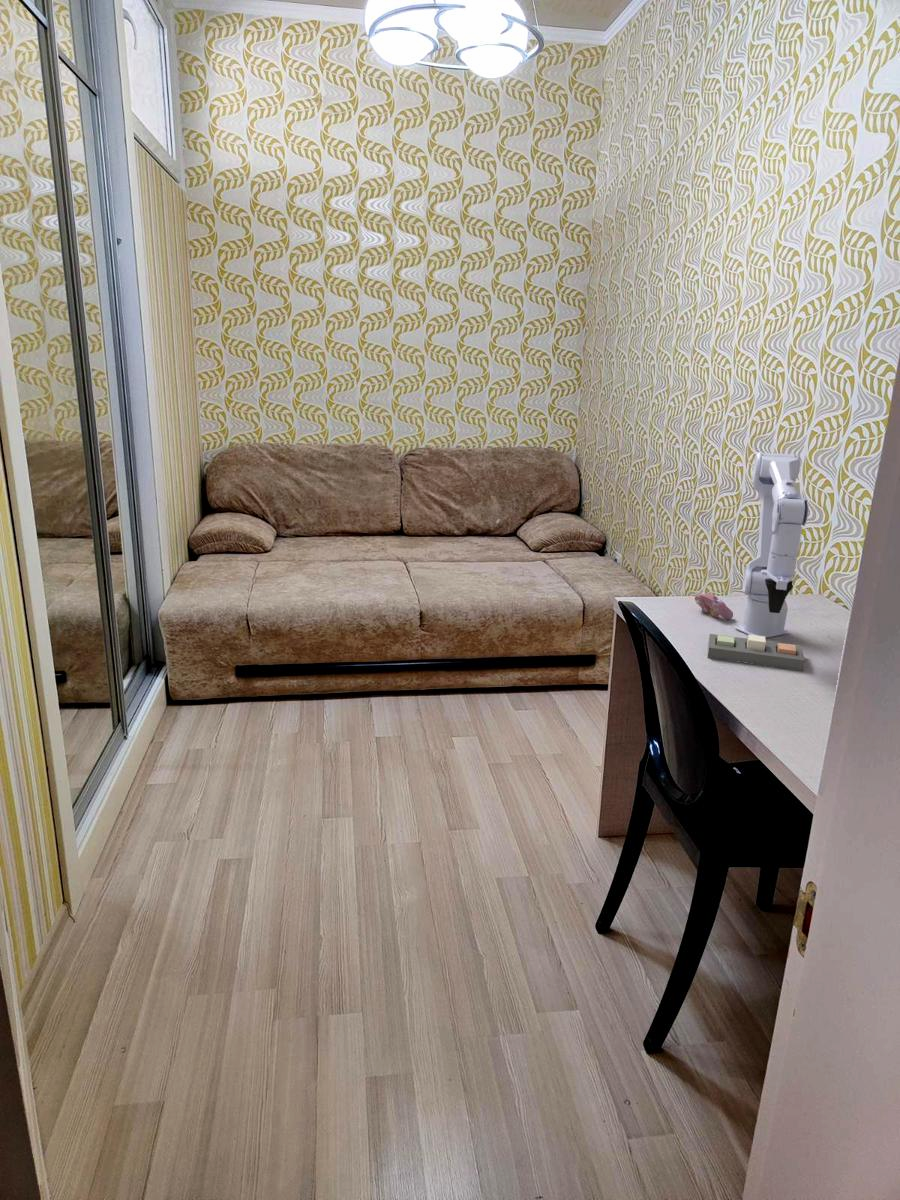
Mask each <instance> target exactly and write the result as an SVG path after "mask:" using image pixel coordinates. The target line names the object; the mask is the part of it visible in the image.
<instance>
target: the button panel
mask: <svg viewBox="0 0 900 1200" xmlns="http://www.w3.org/2000/svg"><path fill="white" fill-rule="evenodd" d="M718 635H719V634H713V633H709V637H708V644H707V645H708V646H707V647H708V648H707V659H714V660H722V661H727V660H729V662H735V661H740V662H739V663H742V662H747V663H746V664H749V663H753V664H752V665H756V664H759V665H758V666H764V665H766V667H771V666H773V667H772V668H779V669H780V668H781V669H786V670H795V671H801V672H804V669H805V664H806V659H805V653H804V650H803V645H801V644H791V643H789V644H790V645H795V646H796V655H789V654H782V653H776V652H777V647H778V643H779V642H776V641H770V640H766V644H765V650H764V651H759V650H752V649H747V648H746V646H747V640H748V638H746V637H745V638H744V637H738V636H733V637H734V647H729V646H721V645H716V644H717V637H718ZM720 635H721V636H724V634H723V635H722V634H720ZM727 636H728V635H727ZM728 637H732V636H730V635H729V636H728ZM781 643H782V642H781ZM782 644H786V643H784V642H783V643H782Z"/></svg>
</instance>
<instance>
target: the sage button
mask: <svg viewBox="0 0 900 1200" xmlns="http://www.w3.org/2000/svg"><path fill="white" fill-rule="evenodd" d="M717 635H718V637H717V644H716V645H721V646H729V647H734V637H735V636H731V637H728V635H723V636H721V635H722V634H717Z"/></svg>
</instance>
